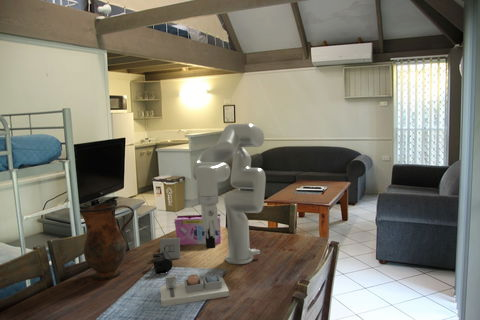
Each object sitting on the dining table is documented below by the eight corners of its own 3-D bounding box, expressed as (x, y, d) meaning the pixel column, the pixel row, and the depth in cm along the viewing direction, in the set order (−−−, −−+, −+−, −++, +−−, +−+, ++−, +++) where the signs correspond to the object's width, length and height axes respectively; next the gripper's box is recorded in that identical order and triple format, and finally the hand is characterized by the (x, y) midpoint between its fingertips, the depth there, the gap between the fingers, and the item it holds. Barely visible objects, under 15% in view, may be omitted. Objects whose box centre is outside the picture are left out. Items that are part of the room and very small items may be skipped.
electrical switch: (159, 259, 177) (158, 239, 177) (162, 256, 182) (161, 237, 182) (180, 259, 177) (179, 239, 177) (181, 255, 182) (180, 236, 182)
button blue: (216, 281, 146) (216, 275, 145) (218, 286, 142) (218, 279, 141) (206, 283, 145) (205, 276, 144) (207, 287, 141) (207, 281, 140)
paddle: (175, 285, 144) (175, 274, 143) (176, 287, 142) (175, 277, 141) (166, 286, 143) (165, 276, 143) (166, 288, 141) (165, 278, 141)
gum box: (174, 245, 196) (172, 219, 195) (176, 240, 204) (175, 215, 203) (220, 243, 196) (219, 217, 195) (221, 238, 204) (220, 213, 202)
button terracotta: (198, 280, 144) (197, 273, 143) (199, 284, 140) (199, 278, 140) (187, 281, 143) (187, 275, 142) (188, 286, 139) (188, 279, 139)
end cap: (173, 272, 162) (172, 257, 161) (156, 275, 160) (155, 260, 159) (169, 264, 171) (168, 249, 171) (153, 266, 169) (152, 252, 168)
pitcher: (86, 271, 167) (80, 204, 163) (136, 263, 174) (131, 198, 170) (85, 287, 151) (78, 212, 148) (140, 277, 158) (135, 206, 155)
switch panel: (222, 282, 150) (222, 271, 150) (229, 296, 139) (228, 284, 138) (160, 291, 145) (159, 280, 144) (161, 306, 133) (160, 294, 133)
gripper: (222, 202, 133) (224, 253, 135) (214, 194, 147) (216, 240, 150) (200, 205, 131) (203, 256, 134) (195, 196, 146) (197, 242, 148)
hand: (210, 247), depth 142 cm, fingers closed
